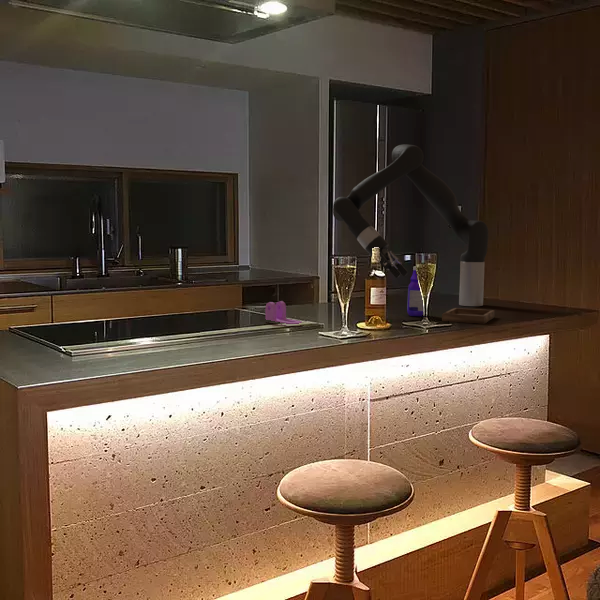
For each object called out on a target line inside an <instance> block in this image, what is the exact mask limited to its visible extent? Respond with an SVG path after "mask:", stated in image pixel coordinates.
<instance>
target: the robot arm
mask: <svg viewBox="0 0 600 600" xmlns="http://www.w3.org/2000/svg"><path fill="white" fill-rule="evenodd" d="M391 161H392V162H391V163H390V164H389V165H388V166H386V167H385V168H382V169H381V170H379V171H376V172H375V173H373V174H371V175H370V176H368V177H367V178H365V179H363V180H362V181H361V182H359V183H358V184H357V185H355V186H354V187H353V188H352V189H351V191H350V193H349V194H348V195H347V196H339V197H337V198H336V199H335V200H334V202H333V205H332V214H333V217H334V219H335V220H337V221H339V222H344V224H346V226H347V228H348V230H349V232H350V233H351V234H352V235H353V237H354V238H355V239H356V240H357V242H358V243H359V244H360V245H361V247H362V248H363V249H364V251H366V252H367V253H368V254H369V256H370V257H371V258H372V248H374V247H379V248H380V258H381V261H380V263H379V264H380V265H381V266H382V267H383V269H384V270H387V271H390V273H391V274H392V276H393V277H394V278H399V277H400V276H403V277H405V276H407V275H408V274H409V271H408V270H407V269H406V267H405V266H404V265H402V264H403V261H402V260H401V259H400V257H398V255H396V254H395V252H394V251H392V250H388V247H389V246H390V245H389V244H390V243H388V242H387V240H386V239H385V238H384V237H383V236H382V235H381V234H380V233H379V232H378V230H376V228H375V227H373V226H372V225H371V224H370V222H368V220H366V219H365V218H364V216H363V215H362V214H361V212H360V209H361V208H362V207H363V206H364V205H365V204H366V203H368V202H369V201H370V200H371V199H373V198H374V197H375V196H377V195H378V194H380V192H382V191H384V189H386V188H387V187H388V186H390V185H392V184H393V183H394V182H396V181H397V180H399V179H401V178H403V177H404V176H406V177H407V178H408V179H409V180H410V181H411V182H412V183H413V185H414V186H415V187H416V189H418V191H419V192H420V193H421V195H422V196H424V197H425V199H426V200H427V202H429V204H430V205H431V207H433V209H435V210H436V211H437V213H438V214H439V215H440V217H442V218H443V219H444V221H445V222H446V223H447V224H448V226H449V227H450V228H451V229H452V231H453V232H454V234H455V236H456V237H457V238H458V240H459V241H461V242H462V243H463V244H467V245H468V246H467V250H466V251H464V252H462V253H461V255H460V264H459V265H460V267H459V268H460V269H459V271H460V273H459V295H458V296H459V297H458V305H459V306H465V307H482V306H484V288H485V287H484V286H485V260H486V259H485V258H486V256H487V254H488V244H489V228H488V225H487V223H485V222H484V221H482V220H471V219H469V218H468V217H466V216H465V214H464V213H463V212H462V211H461V210H460V208H459V205H458V200H457V197H456V194H455V193H454V192H453V190H452V189H451V188H450V186H448V184H447V183H446V182H445V181H444V180H442V179H441V178H440V177H439V176H438V175H436V174H434V173H433V172H432V171H430V170H429V169H428V168H426V167H425V166H424V165H423V164H422V163H423V161H424V152H423V149H421V147H419V146H417V145H414V144H406V143H405V144H403V143H402V144H399V145H397V146H395V147H394V148H393V149H392V151H391Z"/></svg>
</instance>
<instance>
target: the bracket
mask: <svg viewBox="0 0 600 600" xmlns="http://www.w3.org/2000/svg"><path fill="white" fill-rule="evenodd" d="M265 304H266V305H265V311H264V312H265V319H266V320H271V321H275V322H280V323H286V324H299V323H302V324H303V322H302V321H301V320H295V319H289V318H287V304H286V303H285V302H284V301H283V300H280V301H276V302H273V301H269V302H267V303H265Z"/></svg>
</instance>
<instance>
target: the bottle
mask: <svg viewBox="0 0 600 600" xmlns="http://www.w3.org/2000/svg"><path fill="white" fill-rule="evenodd" d="M416 266H417V265H415V266H413V267H412V268H413V269H412V270H413V271H412V275H411V277H410V283H409V284H408V286H407V288H408V289H407V308H406V309H407V310H406V311H407V314H408V316H410V317H423V316H422V315H423V300H422V296H421V292H420V288H419V285H418V280H417V274H416Z"/></svg>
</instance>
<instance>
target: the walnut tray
mask: <svg viewBox="0 0 600 600" xmlns="http://www.w3.org/2000/svg"><path fill="white" fill-rule="evenodd" d="M492 319H495V310H493V309H479V308H478V309H475V308H464V307H463V308H462V307H453V308H451V309H449V310H447V311H445V312H443V313H441V321H442V322H448V321H449V322H450V323H451V322H453V323H466V324H479V325H484V324H486V323H487V322H489V321H491V320H492Z"/></svg>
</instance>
